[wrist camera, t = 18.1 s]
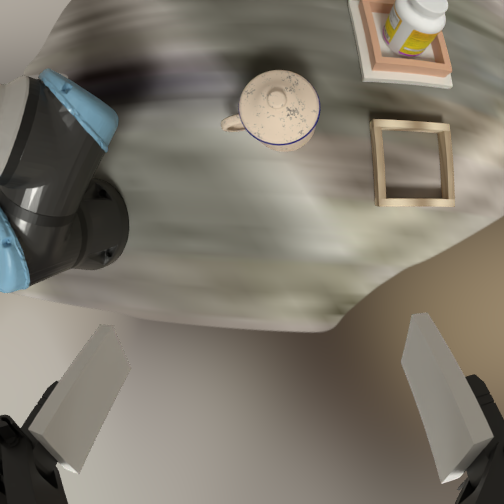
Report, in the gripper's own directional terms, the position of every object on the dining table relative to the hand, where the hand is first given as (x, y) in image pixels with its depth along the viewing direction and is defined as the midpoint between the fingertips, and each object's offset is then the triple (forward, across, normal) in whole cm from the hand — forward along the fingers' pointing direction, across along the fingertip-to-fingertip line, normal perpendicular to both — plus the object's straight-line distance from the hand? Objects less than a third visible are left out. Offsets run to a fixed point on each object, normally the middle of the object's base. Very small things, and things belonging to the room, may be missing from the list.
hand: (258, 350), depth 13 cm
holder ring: (+31, +20, +3) cm, 37 cm away
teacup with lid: (+34, +1, +9) cm, 35 cm away
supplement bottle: (+34, +21, +21) cm, 45 cm away
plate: (+35, +21, +21) cm, 46 cm away
